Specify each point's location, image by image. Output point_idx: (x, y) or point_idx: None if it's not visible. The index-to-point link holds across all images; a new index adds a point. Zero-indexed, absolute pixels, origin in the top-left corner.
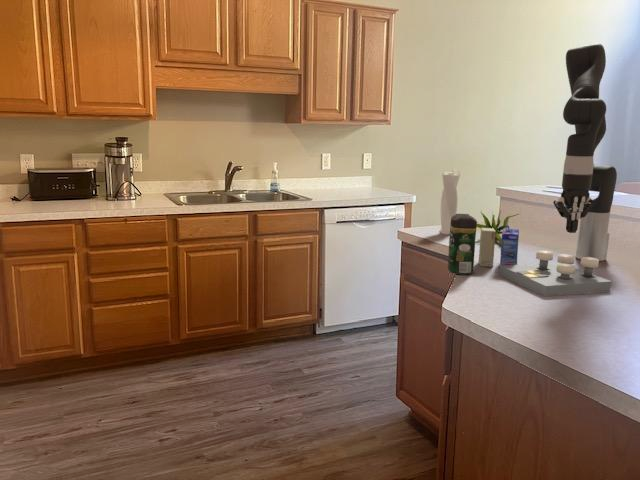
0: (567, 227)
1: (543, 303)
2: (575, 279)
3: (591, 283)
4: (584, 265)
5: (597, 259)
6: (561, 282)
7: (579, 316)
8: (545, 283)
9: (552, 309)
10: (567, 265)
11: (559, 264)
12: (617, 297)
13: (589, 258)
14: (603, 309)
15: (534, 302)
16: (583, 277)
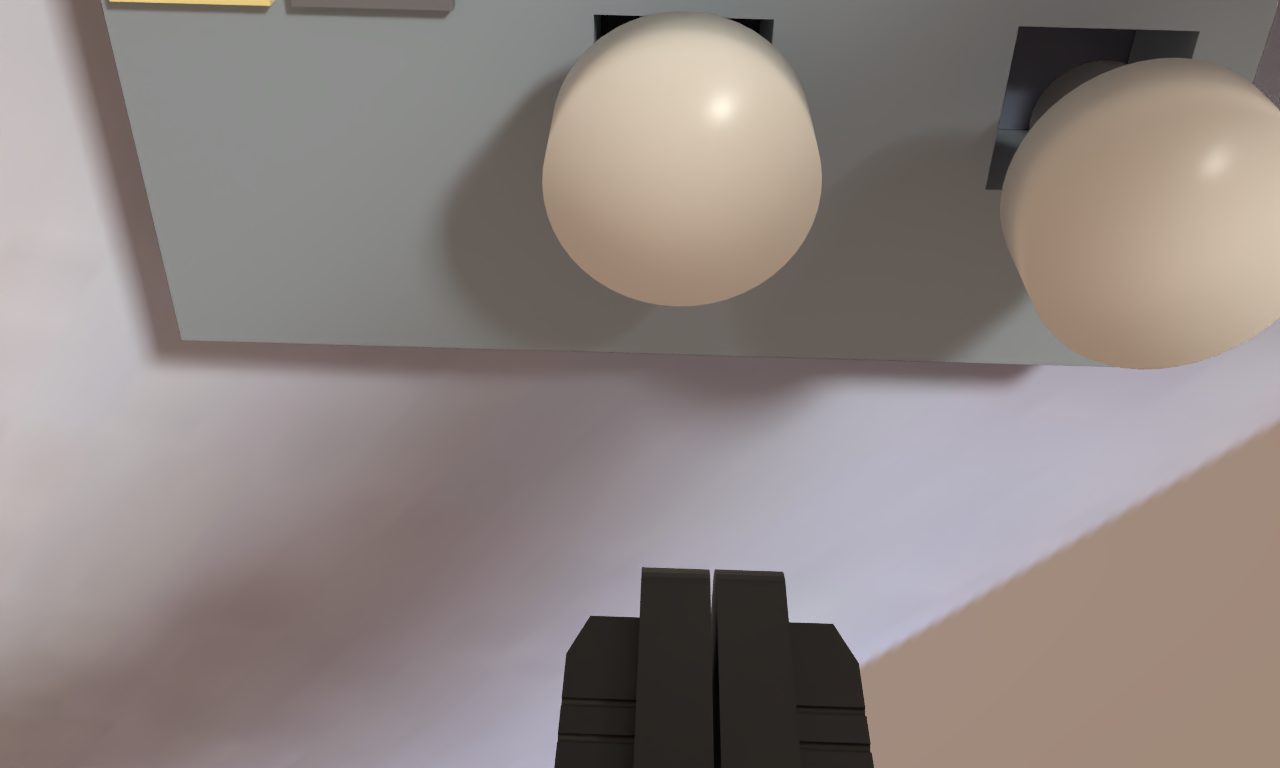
0: (586, 706)
1: (96, 431)
2: None
3: (851, 354)
4: (1004, 230)
5: (1267, 303)
6: (472, 269)
7: (252, 698)
8: (228, 259)
9: (107, 558)
10: (706, 186)
11: (615, 100)
12: (988, 457)
13: (1201, 221)
14: (563, 640)
15: (14, 392)
16: (963, 151)
